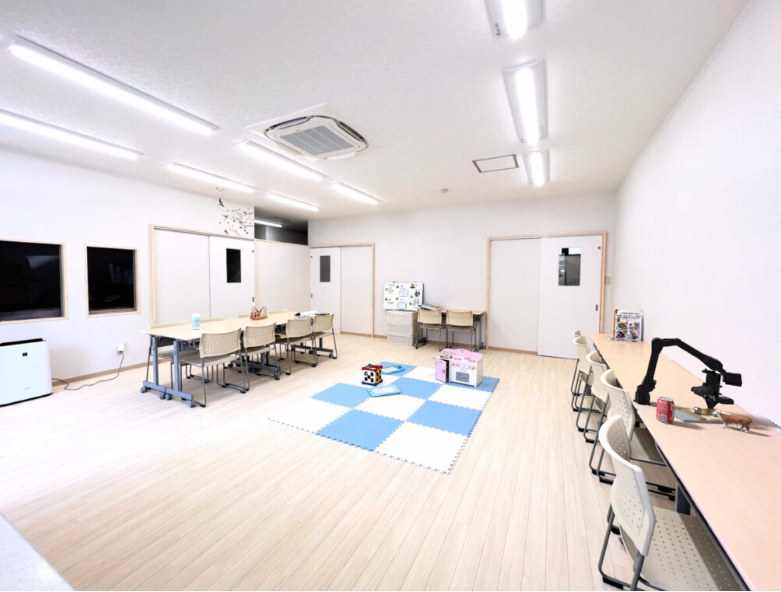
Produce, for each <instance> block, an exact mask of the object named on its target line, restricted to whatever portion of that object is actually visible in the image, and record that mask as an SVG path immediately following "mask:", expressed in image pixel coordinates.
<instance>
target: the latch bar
mask: <svg viewBox="0 0 781 592" xmlns="http://www.w3.org/2000/svg"><path fill="white" fill-rule="evenodd" d="M693 410H694V413H695V414H712V411H716V410H720V409H718V408H716V407H714V408H708V407H705V408H701V407H698V406H694V409H693Z"/></svg>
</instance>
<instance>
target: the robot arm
mask: <svg viewBox="0 0 781 592" xmlns="http://www.w3.org/2000/svg"><path fill="white" fill-rule="evenodd" d="M650 343H651V344H650V345H651V346H650V347H651V349H650V352H651V353H650V356H649V360H648V365H647V369H646V373H645V375H644V377H643V379H642V381H641V383H640V384H639V385H637V386H636V391H635V393H634V399H632V401H633V402H635V403H636V404H639V405H640V406H641V405H647V406H648V405H649V406H651V405H652V403H651V392H653V391H654V390H656V385H657V379H654V377H655V373H656V371H657V365H658V361H659V356H660V354H662V351H663V349H664V348H669V347H675V346H676V347H678V348H680V349H681V350H683V351H684V352H686V353H688V354H689V355H691V356H693V357H694V358H696V359H697V360H699V361H700V362H701V363H703V364H704V366H706V367H707V368H706V367H705V368H704V369H702V370H701V373H702V374H705V381H704V382H702V383H701V385H698V386H697V385H695V386H692V387H690V392H693V394H694V395H696V396H699V397H701V398H702V399H703V400H704V401H705V403H706V408H716V407H717V405H718V404H720V405H727V406H728V405H731V406H732V405H733V406H734V405H735V400H734V399H733V398H731V397H728V396H722V395H723V394H722V393H721V392H720V390H721V389H723V385H721V384H722V383H724V385H727V386H731V387H732V386H733V387H740V388H741V387H742V386H743V379H742V374H741V373H739V372H730V371H727V370H726V369H724V365H723V363H722V362H721V360H719V359H718V358H715V357H713V356H711V355H709V354H707V353H706V354H705V353H703V352H702V351H700V350H699V349H696V348H695V347H694V346H692V345H690V344H688V343H686V342H685V341H683V340H682V339H681V338H679V337H671V338H668V337H667V338H661V337H659V336H658V337H657V336H655V337H653V338H651V341H650ZM721 382H722V383H721Z"/></svg>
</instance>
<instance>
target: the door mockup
mask: <svg viewBox="0 0 781 592" xmlns="http://www.w3.org/2000/svg"><path fill="white" fill-rule="evenodd" d="M713 412H715V411H712V414H695V413H694V409H689V408H681V409H680V410H675V411H674V419H677V420H679V421H681V422H683V423H697V424H698V423H700V424H701V423H702V424H703V423H704V424H724V422H722V421H721V420H720V418H719V417H718V416H717V415H716V414H713ZM730 424H732V423H728V425H730Z"/></svg>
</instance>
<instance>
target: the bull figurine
mask: <svg viewBox="0 0 781 592" xmlns="http://www.w3.org/2000/svg"><path fill="white" fill-rule="evenodd" d="M713 414H716V415H717V416H718V417H719V418H720V420H721V421H722V422H724V423H723V426H721V428H722V429H725V428H729V426H730V425H729V424H728V423H731V424H732V425H735V426H736V427H738V426H739V425H741V426H740V427H738V428H737V430H738V431H743V429H745V430H744V433H745V434H749V433H750V429H751V428H750V425H752V424H753V419H751V418H750V417H745V416H740V415H734V414H732V413H728V412H726V411H723V410H720V409H719V410H716V411H715V412H713Z"/></svg>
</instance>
